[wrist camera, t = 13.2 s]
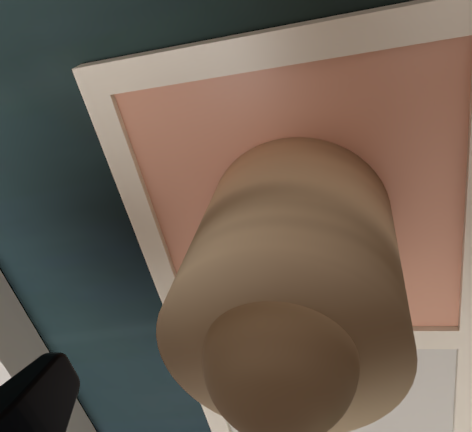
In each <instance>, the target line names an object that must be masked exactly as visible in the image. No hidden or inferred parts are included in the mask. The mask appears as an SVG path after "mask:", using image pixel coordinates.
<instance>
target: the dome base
mask: <svg viewBox="0 0 472 432" xmlns="http://www.w3.org/2000/svg"><path fill="white" fill-rule="evenodd" d="M45 353H49V351H48V349H47V348H46V346H45V344H44V343H43V341H42V339H41V338H40V336H39V334H38V333H37V331H36V329H35V328H34V326H33V324H32V322H31V321H30V319H29V317H28V316H27V314H26V312H25V311H24V309H23V307H22V306H21V304H20V302H19V301H18V299H17V297H16V296H15V294H14V292H13V291H12V289H11V287H10V286H9V284H8V282H7V280H6V279H5V277H4V275H3V274H2V272H1V270H0V386H1V385H2V384H4V383H5V382H6V381H8V380H9V379H10V378H12V377H13V376H14V375H16V374H17V373H18V372H20V371H21V370H22V369H24V368H25V367H26V366H28V365H29V364H30V363H32V362H33V361H34V360H36V359H37V358H38V357H40V356H41V355H43V354H45ZM66 432H96V430H95V428H94V427H93V425H92V423H91V422H90V420H89V418H88V417H87V415H86V413H85V412H84V410H83V408H82V406H81V405H80V403H79V401H78V400H77V398H76V401H75V405H74V408H73V411H72V414H71V417H70V420H69V424H68V427H67V430H66Z"/></svg>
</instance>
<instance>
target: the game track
mask: <svg viewBox="0 0 472 432" xmlns="http://www.w3.org/2000/svg"><path fill="white" fill-rule="evenodd" d="M72 71H73V74H74V77H75V79H76V82H77V84H78V87H79V90H80V92H81V95H82V97H83V100H84V103H85V105H86V108H87V110H88V113H89V115H90V118H91V121H92V123H93V126H94V128H95V131H96V134H97V136H98V139H99V141H100V144H101V147H102V149H103V152H104V154H105V157H106V160H107V162H108V165H109V167H110V170H111V172H112V175H113V178H114V180H115V183H116V185H117V188H118V191H119V193H120V196H121V198H122V201H123V204H124V206H125V209H126V211H127V214H128V217H129V219H130V222H131V224H132V227H133V229H134V232H135V235H136V237H137V240H138V242H139V245H140V248H141V250H142V253H143V255H144V258H145V261H146V263H147V266H148V268H149V271H150V274H151V276H152V279H153V281H154V284H155V286H156V289H157V292H158V294H159V297H160V299H161V302H162V305H163V303H164V301H165V298H166V296H167V294H168V292H169V290H170V288H171V285H172V283H173V281H174V279H175V277H176V275H177V272H178V270H179V268H180V266H181V264H182V262H183V259H184V257H185V255H186V253H187V251H188V249H189V246H190V244H191V242H192V240H193V238H194V236H195V233H196V231H197V229H198V227H199V225H200V223H201V220H202V218H203V216H204V214H205V212H206V210H207V207H208V205H209V203H210V201H211V199H212V197H213V194H214V192H215V190H216V188H217V186H218V184H219V181H220V179H221V178H222V176H223V174H224V173H225V171H226V170H227V169H228V168H229V166H230V165H231V164H232V163H233V162H234V161H235V160H236V159H237V158H239V157H240V156H241V155H242V154H244V153H245V152H247V151H248V150H250V149H252V148H254V147H256V146H258V145H260V144H263V143H266V142H269V141H272V140H277V139H282V138H291V137H306V138H315V139H320V140H325V141H328V142H331V143H335V144H337V145H340V146H342V147H344V148H346V149H348V150H350V151H351V152H353V153H355V154H356V155H358V156H359V157H360V158H362V159H363V160H364V161H365V162H366V163H368V164H369V165H370V167H371V168H372V169H373V170H374V171H375V172H376V173H377V175H378V176H379V178H380V179H381V181H382V182H383V184H384V187H385V189H386V191H387V193H388V197H389V200H390V205H391V210H392V216H393V221H394V227H395V232H396V238H397V244H398V249H399V255H400V260H401V266H402V271H403V277H404V282H405V288H406V293H407V299H408V305H409V310H410V316H411V321H412V327H413V332H414V338H415V343H416V350H417V359H418V362H417V372H416V376H415V379H414V382H413V385H412V387H411V388H410V390H409V392H408V394H407V395H406V397H405V398H404V399H403V400H402V402H401V403H400V404H399V405H398V406H397V407H396V408H394V409H393V410H392V411H391V412H390V413H388V414H387V415H385V416H384V417H382V418H381V419H379V420H377V421H375V422H373V423H371V424H369V425H367V426H364V427H361V428H359V429H356V430H352V431H348V432H472V0H414V1H409V2H404V3H398V4H393V5H388V6H383V7H377V8H372V9H367V10H362V11H356V12H351V13H346V14H341V15H335V16H330V17H325V18H320V19H314V20H309V21H304V22H299V23H294V24H288V25H283V26H278V27H273V28H267V29H262V30H257V31H252V32H246V33H241V34H236V35H231V36H225V37H220V38H215V39H210V40H204V41H199V42H194V43H189V44H183V45H178V46H173V47H168V48H162V49H157V50H152V51H147V52H141V53H136V54H131V55H126V56H120V57H115V58H110V59H105V60H99V61H94V62H89V63H84V64H80V65H78V66H76V67H75V68H73V69H72ZM201 406H202V408H203V411H204V413H205V416H206V419H207V421H208V424H209V426H210V429H211V432H239V431H237V430H236V429H235V428H233V427H232V426H231V425H230V424H229V423H228V422H227V421H226V420H225V419H224V418H223V417H222V416H221V415H219V414H217V413H215V412H213V411H212V410H210V409H208V408H207V407H205V406H204V405H202V404H201Z"/></svg>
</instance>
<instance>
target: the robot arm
mask: <svg viewBox="0 0 472 432" xmlns="http://www.w3.org/2000/svg"><path fill="white" fill-rule="evenodd" d="M79 387H80V380H79V377H78V375H77V373H76V371H75V370H74V368H73V366H72V364H71V363H70V361H69V359H68V357H67V356H66V355H65V354H63V353H45V354H43V355H41V356H40V357H38V358H37V359H36V360H34V361H33V362H32V363H30V364H29V365H28V366H26V367H25V368H24V369H22V370H21V371H20V372H18V373H17V374H16V375H14V376H13V377H12V378H10V379H9V380H8V381H6V382H5V383H4V384H2V385H1V386H0V432H66V430H67V427H68V424H69V420H70V417H71V414H72V411H73V408H74V405H75V401H76V398H77V395H78V392H79Z"/></svg>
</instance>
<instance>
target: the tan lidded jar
mask: <svg viewBox="0 0 472 432" xmlns="http://www.w3.org/2000/svg"><path fill="white" fill-rule="evenodd" d="M156 338H157V344H158V349H159V352H160V355H161V358H162V360H163V362H164V364H165V366H166V368H167V369H168V371H169V372H170V374H171V375H172V376H173V378H174V379H175V380H176V381H177V383H178V384H179V385H180V386H181V387H182V388H183V389H184V390H185V391H186V392H187V393H188V394H189V395H190V396H192V397H193V398H194V399H195V400H197V401H198V402H199V403H201V404H202V405H204V406H205V407H207V408H208V409H210V410H212V411H213V412H215V413H217V414H219V415H221V416H222V417H223V418H224V419H225V420H226V421H227V422H228V423H229V424H230V425H231V426H232V427H233V428H235V429H236V430H237V431H239V432H348V431H352V430H356V429H359V428H361V427H364V426H367V425H369V424H371V423H373V422H375V421H377V420H379V419H381V418H382V417H384V416H385V415H387V414H388V413H390V412H391V411H392V410H393V409H394V408H396V407H397V406H398V405H399V404H400V403H401V402H402V400H403V399H404V398H405V397H406V395H407V394H408V392H409V390H410V388H411V387H412V385H413V382H414V379H415V376H416V372H417V362H418V359H417V350H416V343H415V338H414V332H413V327H412V321H411V316H410V310H409V305H408V299H407V293H406V288H405V282H404V277H403V271H402V266H401V260H400V255H399V249H398V244H397V238H396V232H395V227H394V221H393V216H392V210H391V205H390V200H389V197H388V193H387V191H386V189H385V187H384V184H383V182H382V181H381V179H380V178H379V176H378V175H377V173H376V172H375V171H374V170H373V169H372V168H371V167H370V165H369V164H368V163H366V162H365V161H364V160H363V159H362V158H360V157H359V156H358V155H356V154H355V153H353V152H351V151H350V150H348V149H346V148H344V147H342V146H340V145H337V144H335V143H331V142H328V141H325V140H320V139H315V138H306V137H291V138H282V139H277V140H272V141H269V142H266V143H263V144H260V145H258V146H256V147H254V148H252V149H250V150H248V151H247V152H245V153H244V154H242V155H241V156H240V157H239V158H237V159H236V160H235V161H234V162H233V163H232V164H231V165H230V166H229V168H228V169H227V170H226V171H225V173H224V174H223V176H222V178H221V179H220V181H219V184H218V186H217V188H216V190H215V192H214V194H213V197H212V199H211V201H210V203H209V205H208V207H207V210H206V212H205V214H204V216H203V218H202V220H201V223H200V225H199V227H198V229H197V231H196V233H195V236H194V238H193V240H192V242H191V244H190V246H189V249H188V251H187V253H186V255H185V257H184V259H183V262H182V264H181V266H180V268H179V270H178V272H177V275H176V277H175V279H174V281H173V283H172V285H171V288H170V290H169V292H168V294H167V296H166V298H165V301H164V303H163V305H162V307H161V310H160V312H159V315H158V320H157V324H156Z"/></svg>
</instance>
